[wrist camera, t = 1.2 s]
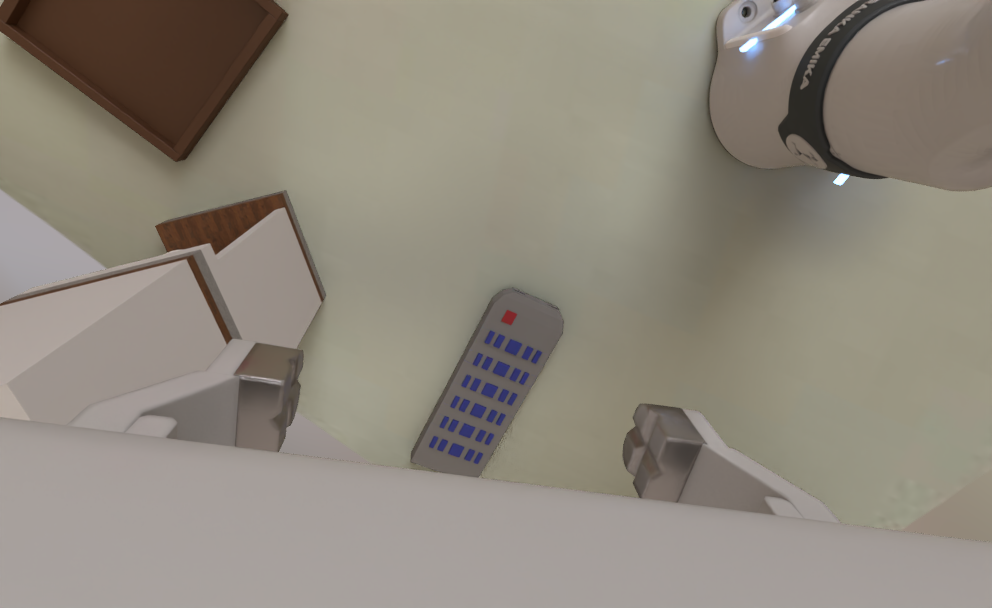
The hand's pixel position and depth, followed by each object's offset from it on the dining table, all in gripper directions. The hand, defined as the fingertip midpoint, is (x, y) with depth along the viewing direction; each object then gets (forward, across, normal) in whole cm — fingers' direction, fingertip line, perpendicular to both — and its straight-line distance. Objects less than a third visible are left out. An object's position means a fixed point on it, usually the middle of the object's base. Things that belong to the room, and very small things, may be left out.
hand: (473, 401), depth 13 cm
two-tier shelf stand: (+41, +17, +13) cm, 46 cm away
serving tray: (+41, +26, -6) cm, 49 cm away
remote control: (+41, -8, +23) cm, 48 cm away
